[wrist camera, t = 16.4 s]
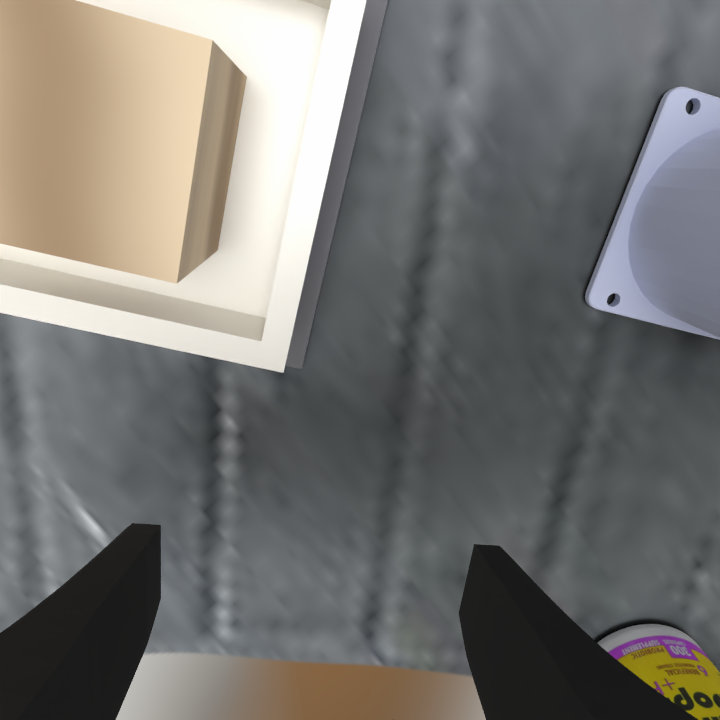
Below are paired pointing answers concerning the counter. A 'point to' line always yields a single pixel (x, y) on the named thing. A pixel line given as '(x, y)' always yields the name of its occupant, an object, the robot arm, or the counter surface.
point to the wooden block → (113, 138)
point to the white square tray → (244, 197)
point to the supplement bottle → (669, 666)
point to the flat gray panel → (336, 177)
